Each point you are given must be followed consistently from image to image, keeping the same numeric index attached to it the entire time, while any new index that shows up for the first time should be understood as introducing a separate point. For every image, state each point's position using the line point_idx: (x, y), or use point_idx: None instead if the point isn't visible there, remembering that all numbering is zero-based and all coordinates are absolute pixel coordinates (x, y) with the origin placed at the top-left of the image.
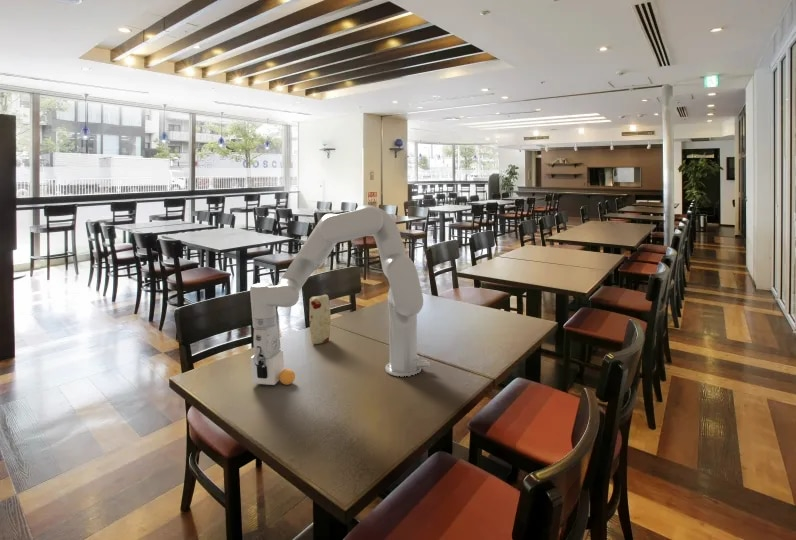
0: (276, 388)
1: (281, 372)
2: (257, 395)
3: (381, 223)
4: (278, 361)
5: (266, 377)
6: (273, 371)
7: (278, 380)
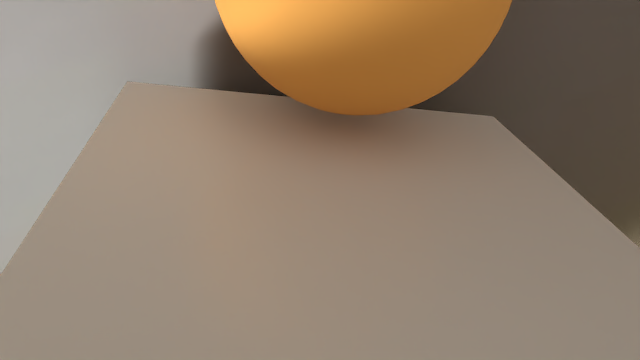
0: (477, 75)
1: (417, 90)
2: (628, 226)
3: None
4: (379, 292)
5: None
6: (610, 228)
7: None
